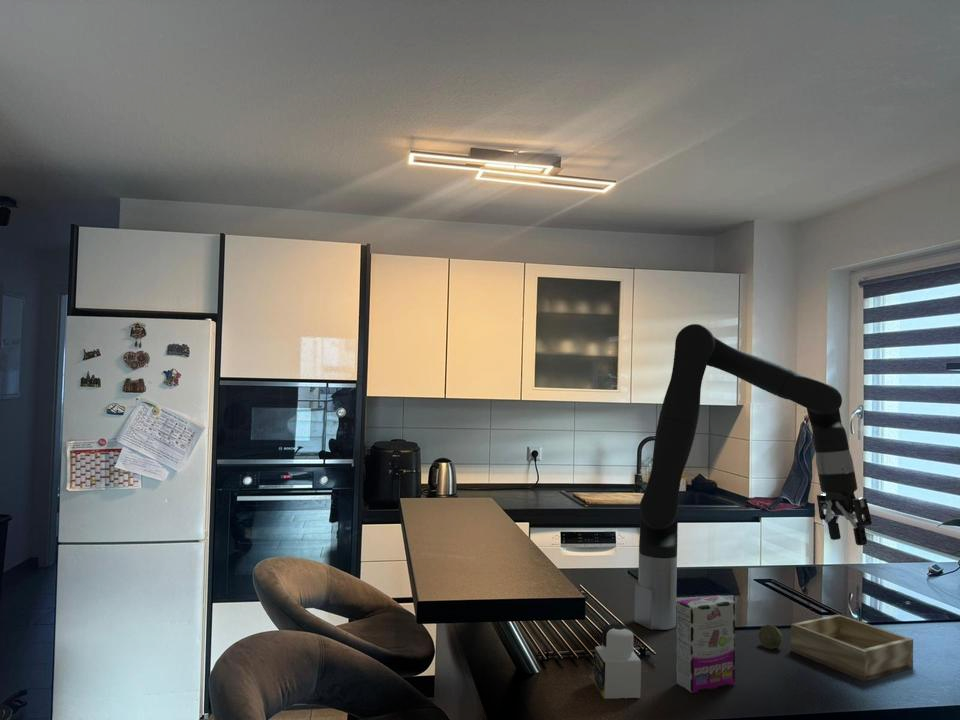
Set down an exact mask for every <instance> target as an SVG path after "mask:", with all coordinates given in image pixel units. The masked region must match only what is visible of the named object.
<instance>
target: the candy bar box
mask: <svg viewBox="0 0 960 720" xmlns="http://www.w3.org/2000/svg"><path fill="white" fill-rule="evenodd" d="M735 607H736V601H734V600H731V599H729V598H728V597H724V596H722V595H718V594H717V595H711V596H702V597H697V598H696V597H695V598H690V599H683V600H681V599H680V600H676V626H675V627H676V633H675V634H676V647H675V648H676V657H675V658H676V665H675V667H676V673H675V675H676V676H675V677H676V679H675V680H676V681H675V682H676V684H677V685H678V686H679V687H681V688H683V689H684V690H686V691H688V692H689V693H691V694H695V693H701V692H706V691H711V690H716V689H721V688H725V687H730V686H734V685H735V684H736V664H735V663H736V643H735V642H736V634H735V633H736V618H735V617H736V608H735Z"/></svg>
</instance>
